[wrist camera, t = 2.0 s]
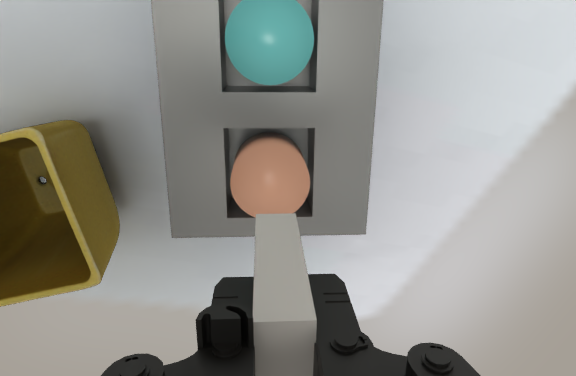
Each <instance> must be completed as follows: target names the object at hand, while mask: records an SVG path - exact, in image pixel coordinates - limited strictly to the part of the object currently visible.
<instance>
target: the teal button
mask: <svg viewBox="0 0 576 376" xmlns="http://www.w3.org/2000/svg"><path fill="white" fill-rule="evenodd" d="M225 45H226V50H227V53H228V56H229V58H230V60H231V62H232V64H233V65H234V67H235V68H236V69H237V70H238V71H239V72H240V73H241V74H242V75H243V76H244V77H246V78H247V79H249V80H251V81H253V82H255V83H258V84H263V85H277V84H282V83H285V82H287V81H289V80H291V79H293V78H294V77H296V76H297V75H298V74H299V73H300V72H301V71H302V70H303V69H304V68H305V66H306V65H307V63H308V61H309V59H310V57H311V54H312V51H313V46H314V32H313V27H312V23H311V20H310V18H309V16H308V14H307V12H306V11H305V10H304V8H303V7H302V6H301V5H300V4H299V3H298V2H297V1H296V0H242V1H241V2H240V3H239V4H238V5H237V6H236V7H235V8H234V10H233V11H232V13H231V15H230V17H229V19H228V22H227V25H226V30H225Z"/></svg>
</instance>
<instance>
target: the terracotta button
mask: <svg viewBox="0 0 576 376" xmlns="http://www.w3.org/2000/svg"><path fill="white" fill-rule="evenodd" d="M230 186H231V192H232V195H233V197H234V200H235V201H236V203H237V204H238V206H239V207H240V208H241V209H242V210H243V211H245V212H246V213H247V214H249V215H251V216H253V217H255V218H256V214H285V213H294V212H295V211H297V210H298V209H299V208H300V207H301V206H302V204H303V203H304V202H305V200H306V198H307V195H308V193H309V189H310V176H309V172H308V169H307V166H306V163H305V160H304V158H303V155H302V153H301V151H300V149H299V147H298V146H297V145H296V144H295V143H294V142H293V141H292V140H291V139H289V138H288V137H286V136H284V135H281V134H278V133H272V132H267V133H260V134H257V135H254V136H252V137H251V138H249V139H248V140H246V141H245V142H244V143H243V144H242V145H241V146H240V148H239V149H238V151H237V153H236V156H235V159H234V164H233V169H232V173H231V179H230Z"/></svg>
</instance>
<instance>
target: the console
mask: <svg viewBox="0 0 576 376" xmlns="http://www.w3.org/2000/svg"><path fill="white" fill-rule="evenodd" d="M241 1H242V0H151V6H152V18H153V29H154V40H155V52H156V63H157V74H158V86H159V97H160V108H161V120H162V131H163V143H164V154H165V165H166V177H167V188H168V199H169V211H170V222H171V233H172V238H191V237H247V236H255V226H256V218H255V217H253V216H251V215H249V214H247V213H246V212H245V211H243V210H242V209H241V208H240V207H239V206H238V204H237V203H236V201H235V200H234V197H233V195H232V192H231V186H230V179H231V173H232V169H233V164H234V159H235V156H236V153H237V151H238V149H239V148H240V146H241V145H242V144H243V143H244V142H245V141H246V140H248V139H249V138H251V137H252V136H254V135H257V134H260V133H267V132H272V133H278V134H281V135H284V136H286V137H288V138H289V139H291V140H292V141H293V142H294V143H295V144H296V145H297V146H298V147H299V149H300V151H301V153H302V155H303V158H304V160H305V163H306V166H307V169H308V172H309V176H310V189H309V193H308V195H307V198H306V200H305V202H304V203H303V204H302V206H301V207H300V208H299V209H298V210H297V211H295V212H294V213H296V217H297V222H298V228H299V233H300V236H303V235H359V234H366V223H367V210H368V197H369V184H370V170H371V157H372V144H373V131H374V117H375V104H376V91H377V78H378V64H379V51H380V38H381V25H382V11H383V0H296V1H297V2H298V3H299V4H300V5H301V6H302V7H303V8H304V10H305V11H306V12H307V14H308V16H309V18H310V20H311V23H312V27H313V32H314V46H313V51H312V54H311V57H310V59H309V61H308V63H307V65H306V66H305V68H304V69H303V70H302V71H301V72H300V73H299V74H298V75H297V76H296V77H294V78H293V79H291V80H289V81H287V82H285V83H282V84H277V85H263V84H258V83H255V82H253V81H251V80H249V79H247V78H246V77H244V76H243V75H242V74H241V73H240V72H239V71H238V70H237V69H236V68H235V67H234V65H233V64H232V62H231V60H230V58H229V56H228V53H227V50H226V45H225V30H226V25H227V22H228V19H229V17H230V15H231V13H232V11H233V10H234V8H235V7H236V6H237V5H238V4H239V3H240V2H241Z"/></svg>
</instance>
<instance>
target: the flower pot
mask: <svg viewBox="0 0 576 376" xmlns="http://www.w3.org/2000/svg"><path fill="white" fill-rule="evenodd" d="M39 177H44V178H45V179H46V181H47V182H46V184H42V183H40V182H39ZM119 227H120V224H119V216H118V211H117V208H116V205H115V202H114V199H113V197H112V194H111V192H110V189H109V186H108V184H107V181H106V178H105V176H104V173H103V170H102V168H101V165H100V162H99V160H98V157H97V154H96V152H95V149H94V146H93V144H92V141H91V138H90V135H89V133H88V131H87V129H86V128H85V127H84V126H83V125H82V124H81V123H79V122H76V121H72V120H63V121H56V122H51V123H46V124H41V125H36V126H31V127H26V128H22V129H18V130H13V131H9V132H5V133H2V134H0V307H1V306H6V305H10V304H16V303H20V302H24V301H29V300H33V299H38V298H43V297H48V296H53V295H57V294H63V293H68V292H73V291H78V290H82V289H86V288H89V287H92V286H95V285H98V284H99V283H100V282H101V280H102V277H103V275H104V272H105V270H106V267H107V265H108V263H109V260H110V258H111V255H112V253H113V251H114V248H115V246H116V243H117V240H118V236H119Z"/></svg>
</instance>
